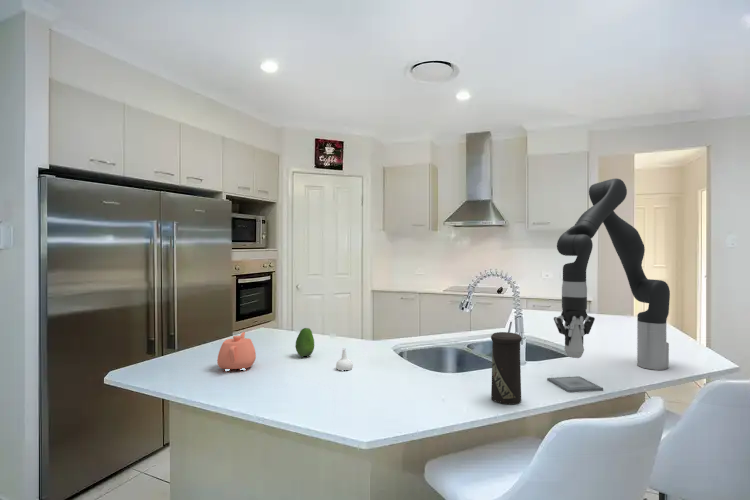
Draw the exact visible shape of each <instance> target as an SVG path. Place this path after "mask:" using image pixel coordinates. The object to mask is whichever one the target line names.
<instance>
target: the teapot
mask: <svg viewBox="0 0 750 500" xmlns="http://www.w3.org/2000/svg"><path fill="white" fill-rule="evenodd" d="M245 334H246V332H245V331H243V332H241V333H240V335H234V336H232V338H228V339H225V340H224V341H223V342H222V343H221V346H220V348H219V351H218V354H217V360H216V361H217V366H218V367H219V368H220V369H223V370H225V369H231V370H237V369H238V370H240V369H242V368H246V369H247V368H248V369H249V368H251V367H252V366H253V365H254V363H255V361H256V358H257V356H256V355H257V354H256V348H255V346H254V343H253V341H252V339H251V338H246V337H245V336H246V335H245Z"/></svg>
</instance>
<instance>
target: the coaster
mask: <svg viewBox="0 0 750 500" xmlns="http://www.w3.org/2000/svg"><path fill="white" fill-rule="evenodd" d="M546 381H547V382H549V383H551V384H553V385H555V386H557V387H558V388H560V389H561V390H563V391H564V392H567V393H581V392H600V391H604V388H603V387H602V386H600V385H598V384H596V383H593V382H592V381H590V380H588V379H586V378H583V377H582V376H579V375H578V376H577V375H576V376H561V377H558V376H557V377H547V378H546Z"/></svg>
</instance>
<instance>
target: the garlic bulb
mask: <svg viewBox="0 0 750 500" xmlns="http://www.w3.org/2000/svg"><path fill="white" fill-rule="evenodd" d="M353 366H354V363H353V362H352V360H351V359H349V358H348V356H347V351H346V348H342V353H341V358H340V359H338V361H336V364H335V369H336V370H337V369H338V370H337V371H339V370H349V371H351V370H352V369H353V368H354V367H353ZM350 369H351V370H350Z"/></svg>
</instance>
